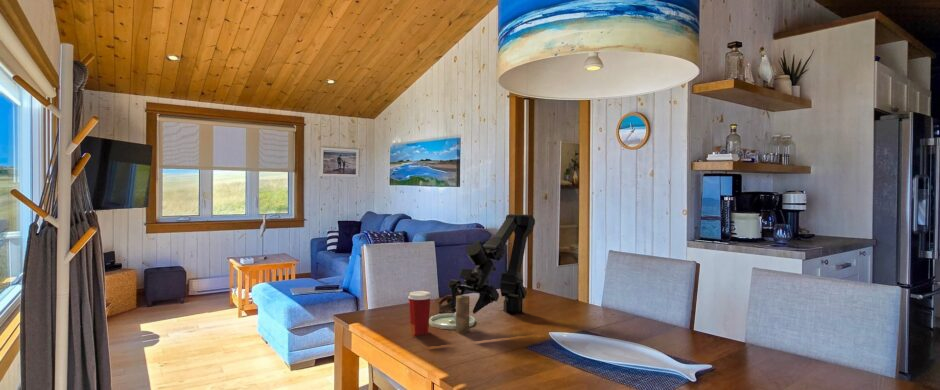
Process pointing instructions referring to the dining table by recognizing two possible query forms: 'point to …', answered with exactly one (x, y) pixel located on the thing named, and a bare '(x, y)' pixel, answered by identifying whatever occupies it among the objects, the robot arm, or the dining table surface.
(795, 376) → the dining table surface
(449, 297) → the brown hollow cylinder
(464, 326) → the pepper grinder
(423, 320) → the paper cup
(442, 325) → the green tray
